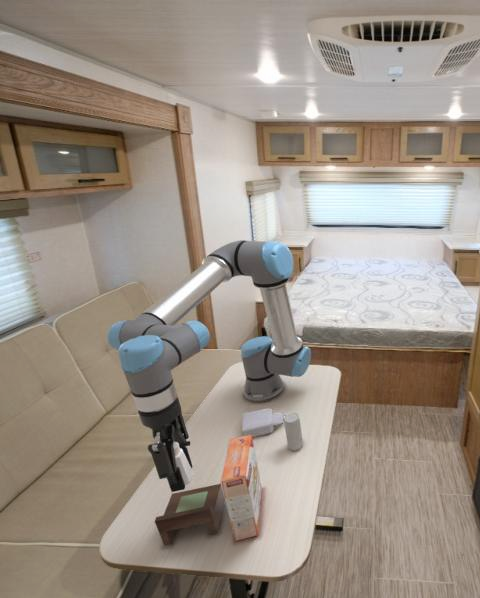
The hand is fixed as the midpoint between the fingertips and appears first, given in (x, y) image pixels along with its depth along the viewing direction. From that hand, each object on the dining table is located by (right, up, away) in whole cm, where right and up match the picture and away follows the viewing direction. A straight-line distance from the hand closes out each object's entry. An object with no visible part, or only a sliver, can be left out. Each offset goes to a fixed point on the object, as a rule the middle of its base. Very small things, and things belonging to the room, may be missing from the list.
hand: (182, 478), depth 84 cm
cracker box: (+13, -14, +8) cm, 21 cm away
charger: (+6, -1, +38) cm, 39 cm away
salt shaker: (0, 0, 0) cm, 1 cm away
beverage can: (+19, -5, +30) cm, 36 cm away
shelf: (0, -14, +6) cm, 16 cm away
